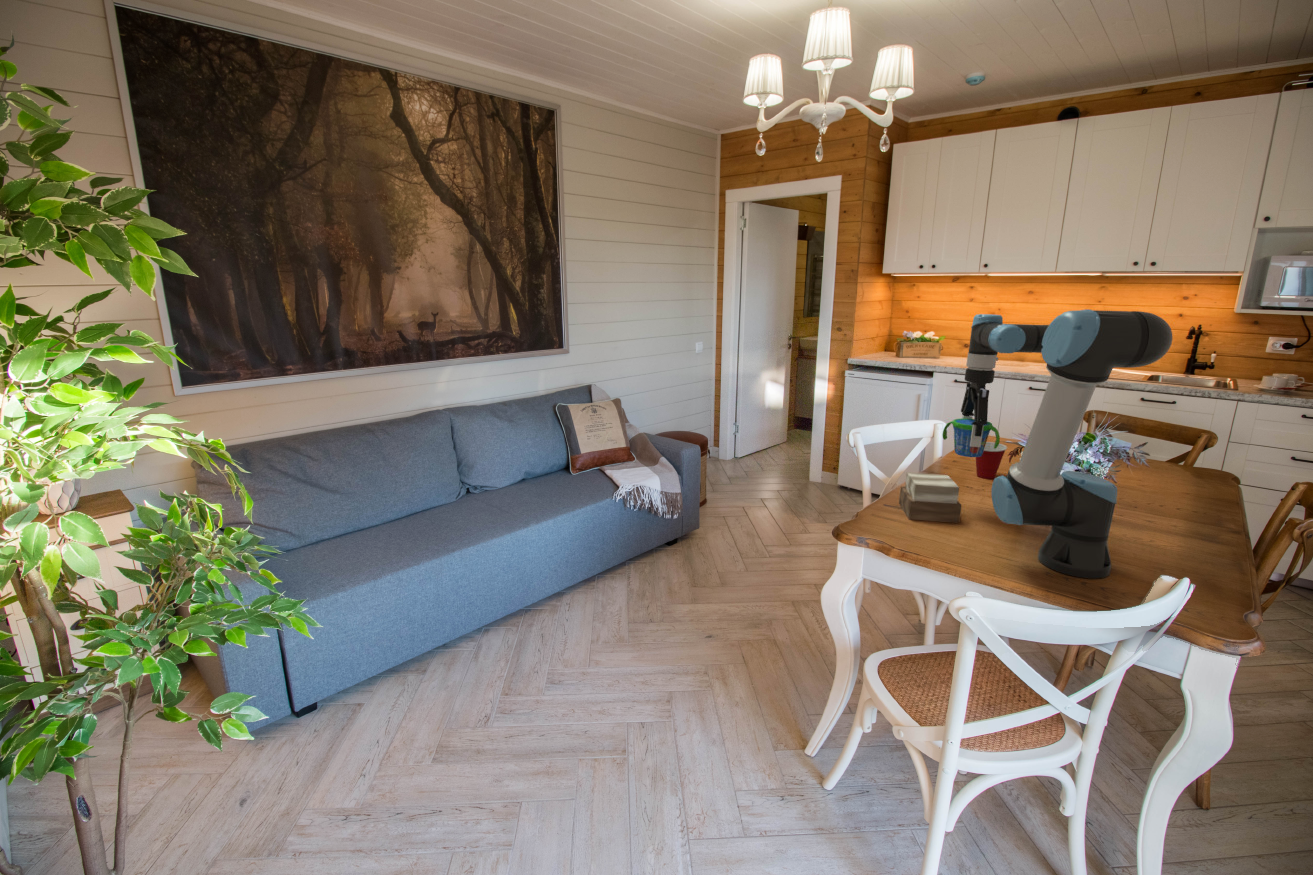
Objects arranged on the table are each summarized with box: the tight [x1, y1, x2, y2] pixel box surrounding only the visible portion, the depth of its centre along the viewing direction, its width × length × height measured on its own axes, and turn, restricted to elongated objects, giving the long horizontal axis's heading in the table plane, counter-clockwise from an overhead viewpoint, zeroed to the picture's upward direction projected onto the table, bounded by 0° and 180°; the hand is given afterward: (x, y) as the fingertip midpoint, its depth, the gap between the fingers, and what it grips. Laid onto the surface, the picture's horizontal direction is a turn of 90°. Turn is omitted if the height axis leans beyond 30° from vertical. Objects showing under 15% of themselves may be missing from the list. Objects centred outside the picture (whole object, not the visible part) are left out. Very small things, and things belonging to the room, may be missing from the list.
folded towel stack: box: [898, 472, 963, 524], centre depth 188 cm, size 14×14×10 cm
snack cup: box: [942, 418, 1001, 458], centre depth 186 cm, size 16×10×10 cm
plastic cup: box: [975, 441, 1008, 480], centre depth 224 cm, size 11×11×12 cm
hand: (969, 441), depth 186 cm, fingers closed on snack cup, 11 cm apart
